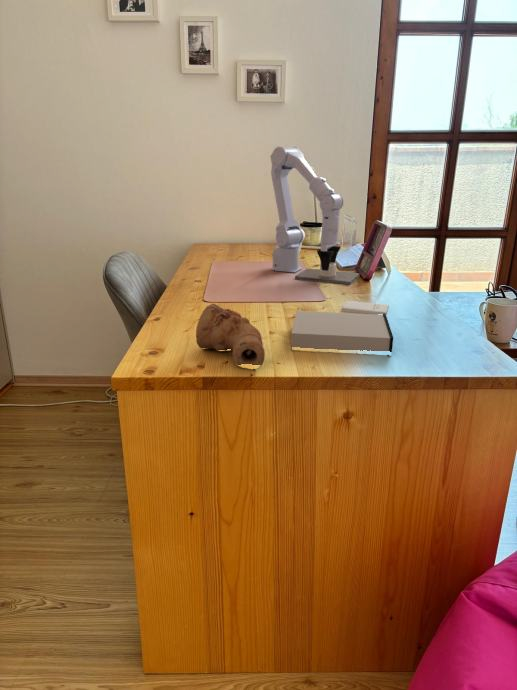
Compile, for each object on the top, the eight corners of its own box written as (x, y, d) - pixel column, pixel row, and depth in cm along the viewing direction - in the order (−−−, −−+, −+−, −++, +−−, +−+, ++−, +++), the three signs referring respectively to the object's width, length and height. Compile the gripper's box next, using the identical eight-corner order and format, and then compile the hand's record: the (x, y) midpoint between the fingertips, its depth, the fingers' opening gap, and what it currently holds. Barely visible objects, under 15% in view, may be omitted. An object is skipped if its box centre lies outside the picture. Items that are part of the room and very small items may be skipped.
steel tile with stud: (295, 279, 180) (295, 264, 178) (307, 271, 192) (307, 257, 191) (350, 284, 173) (351, 269, 171) (359, 276, 185) (360, 261, 183)
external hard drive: (346, 305, 152) (388, 309, 148) (341, 313, 144) (385, 317, 141) (346, 300, 151) (389, 304, 147) (341, 307, 144) (386, 311, 140)
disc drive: (391, 358, 112) (394, 337, 111) (290, 352, 115) (291, 332, 113) (384, 332, 129) (386, 313, 127) (295, 328, 132) (296, 309, 130)
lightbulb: (304, 252, 229) (305, 227, 225) (304, 254, 223) (305, 229, 219) (290, 252, 229) (291, 227, 225) (290, 254, 224) (291, 229, 220)
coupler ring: (333, 277, 179) (334, 266, 178) (318, 275, 181) (318, 264, 180) (337, 273, 184) (338, 263, 182) (322, 272, 186) (322, 261, 184)
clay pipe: (252, 355, 123) (192, 337, 120) (266, 314, 119) (205, 295, 117) (255, 386, 105) (185, 366, 103) (271, 340, 102) (200, 318, 99)
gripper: (336, 233, 169) (333, 273, 174) (346, 227, 181) (343, 265, 186) (315, 231, 172) (313, 271, 176) (327, 226, 184) (325, 263, 189)
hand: (328, 268), depth 182 cm, fingers open, 7 cm apart
